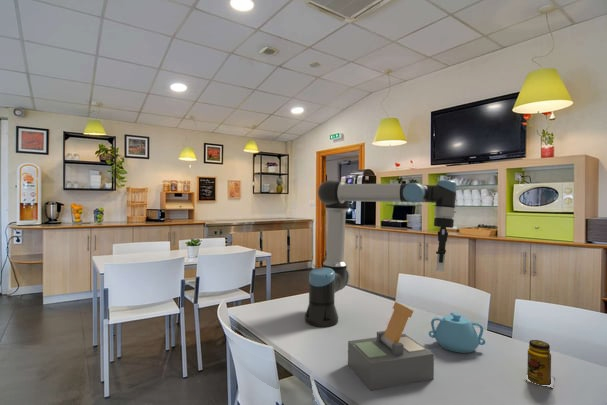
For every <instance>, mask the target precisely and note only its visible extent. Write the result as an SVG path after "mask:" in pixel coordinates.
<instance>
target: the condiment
mask: <svg viewBox="0 0 607 405" xmlns="http://www.w3.org/2000/svg"><path fill="white" fill-rule="evenodd" d="M528 343H529V346H528V349H527V369H526V370H527V371H526V375H528V379H529V380H530V381H531V382H533V383H536V384H539V385H538V386H540V385H550V384H551V377H552V354H551V352H550V351H551V350H550V349H551V346H550V344H549V343H548V342H546V341H543V340H538V339H530V340H529V342H528ZM526 375H525V376H526ZM524 381H525V382H527V383H531V382H528V381H526V380H525V379H524ZM533 383H531V384H533ZM536 384H535V385H536ZM546 388H547V389H551V388H550V387H546Z"/></svg>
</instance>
